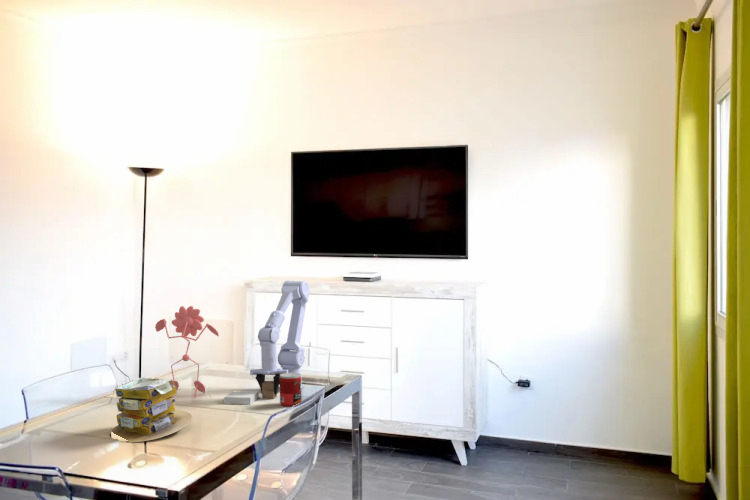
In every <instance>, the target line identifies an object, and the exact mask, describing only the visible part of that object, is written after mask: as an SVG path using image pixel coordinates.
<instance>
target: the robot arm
mask: <svg viewBox="0 0 750 500" xmlns="http://www.w3.org/2000/svg"><path fill="white" fill-rule="evenodd" d="M310 290H311V289H310V285H309V283H308V281H306V280H301V281H300V280H285V281H284V282H283V284H282V287H281V296H280V299H279V302H278V304H277V306H276V309H275V310H273V311H272V312H271V313H270V315H269V317H268V318H267V321H266V324H265V325H264V326H263V327H262V328H260V329H259V331H258V334H257V338H258V339H257V340H258V342H259V347H261V349H260V352H261V354H260V355H261V368H251V369H250V371H249V374H250V376H255V380H256V382H257V384H258V385H259V386H258V387H259V389H260V392H261V394H262V383H263V382H264V381H266V376H273V381H274V394H277V395H278V392H279V388H280V374H283V373H299V374H301V389H302V388H304V387H305V384H303V383H302V380H303V378H302V377H303V376H302V369H301V368H302V367H303V365H304V363H305V348H303V346H302V345H301V344H300V342H301V338H302V332H303V331H302V330H303V326H304V319H305V313H306V309H307V303H308V301H309V295H310V292H311V291H310ZM291 303H292V310H291V315H290V320H289V321H290V322H289V328H288V333H287V339H286V342H285V343H284V344H283V345H281V346H280V350H279V352H278V355H277V342H278V341H279V339H280V336H281V335H280V332H281V327H282V325H283V323H284V321H285V318H286V316H285V313H286V311H287V310H288V308H289V307H290V305H291ZM277 363H278V365H280V368H277V367H278V366H277Z"/></svg>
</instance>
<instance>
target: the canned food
mask: <svg viewBox="0 0 750 500" xmlns="http://www.w3.org/2000/svg"><path fill="white" fill-rule="evenodd" d="M300 402H301V403H302V388H301V374H299V373H283V374H280V384H279V403H280V406H281V407H285V408H286V407H287V408H292V407H291V406H293V405H296V404H298V403H300Z"/></svg>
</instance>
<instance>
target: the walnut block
mask: <svg viewBox="0 0 750 500" xmlns="http://www.w3.org/2000/svg"><path fill="white" fill-rule="evenodd" d="M277 396H278V393H277V394H274V380H265V381H264V382H263V383H262V393H261V399H262V400H263V399H264V400H274V399H275V398H276V397H277Z"/></svg>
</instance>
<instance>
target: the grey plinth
mask: <svg viewBox="0 0 750 500" xmlns="http://www.w3.org/2000/svg"><path fill="white" fill-rule="evenodd" d="M259 394H260V392H259V391H257V390H233V391H232V392H229V393H227V395H226V396H224V397H223V401H224V403H223V404H224V405H251V404H253V403H254V402H255V401H257V400H258V399H259V398H260V395H259Z"/></svg>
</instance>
